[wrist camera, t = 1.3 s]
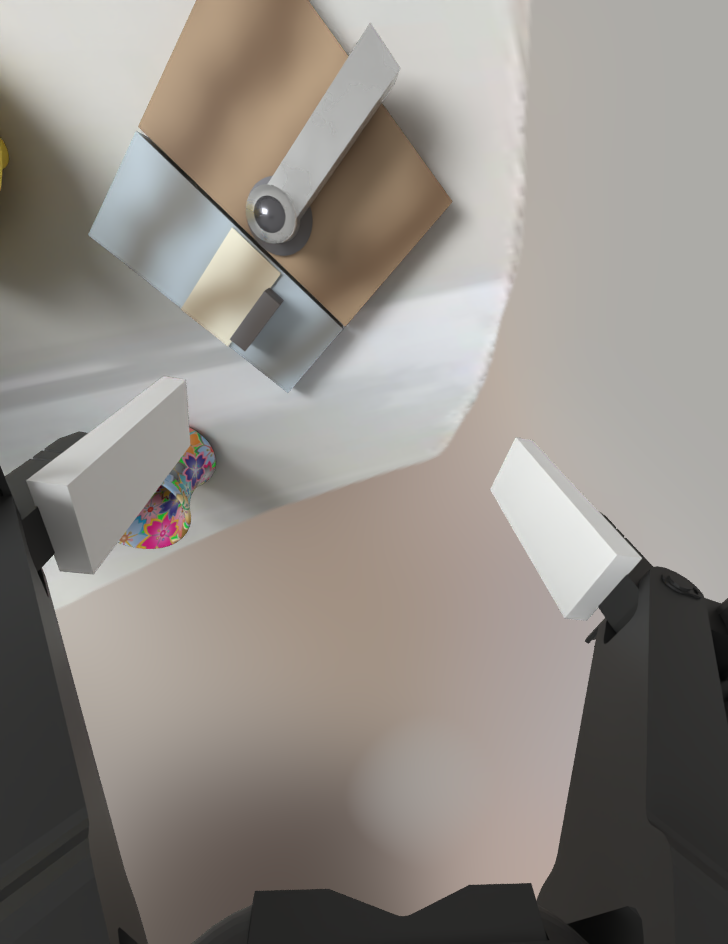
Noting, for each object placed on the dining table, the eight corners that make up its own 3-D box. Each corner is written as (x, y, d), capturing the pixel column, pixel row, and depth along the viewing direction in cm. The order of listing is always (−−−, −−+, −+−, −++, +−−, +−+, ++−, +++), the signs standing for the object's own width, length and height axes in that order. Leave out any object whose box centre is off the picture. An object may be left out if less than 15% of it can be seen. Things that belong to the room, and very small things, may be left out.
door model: (102, 235, 29) (67, 234, 25) (247, -69, 21) (228, -134, 18) (290, 386, 37) (284, 402, 33) (446, 203, 29) (461, 198, 26)
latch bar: (283, 252, 28) (275, 254, 25) (249, 218, 27) (234, 215, 23) (397, 91, 24) (408, 64, 20) (362, 40, 22) (367, 2, 19)
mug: (183, 400, 37) (134, 451, 28) (238, 466, 42) (211, 527, 33) (97, 447, 40) (28, 507, 31) (158, 504, 44) (114, 571, 36)
